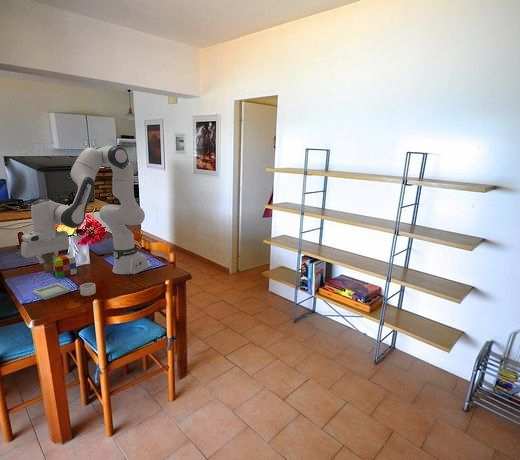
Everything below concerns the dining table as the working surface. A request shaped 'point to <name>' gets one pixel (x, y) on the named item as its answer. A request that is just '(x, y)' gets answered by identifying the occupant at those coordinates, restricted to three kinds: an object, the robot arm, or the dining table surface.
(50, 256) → the dowel
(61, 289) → the tray
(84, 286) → the cup
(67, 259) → the toy
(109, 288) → the dining table surface
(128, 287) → the dining table surface
